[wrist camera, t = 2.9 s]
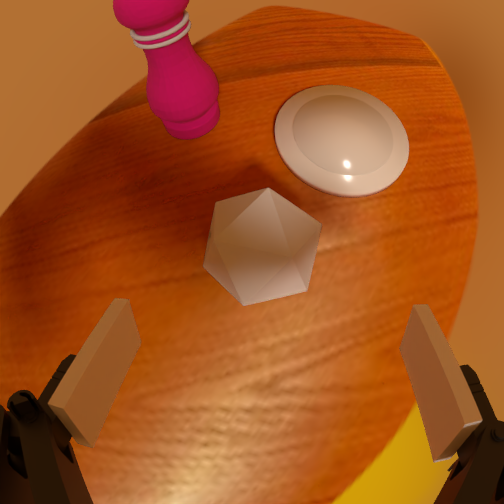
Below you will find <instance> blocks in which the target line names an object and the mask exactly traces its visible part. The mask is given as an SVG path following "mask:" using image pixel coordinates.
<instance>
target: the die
mask: <svg viewBox="0 0 504 504" xmlns="http://www.w3.org/2000/svg"><path fill="white" fill-rule="evenodd" d="M321 228H322V224H321V223H320V222H318V221H317V220H316V219H314V218H313V217H311V216H310V215H308V214H307V213H305V212H304V211H303V210H301V209H300V208H298V207H297V206H295V205H294V204H292V203H291V202H289V201H288V200H287V199H285V198H284V197H282V196H281V195H279V194H278V193H276V192H275V191H273V190H272V189H270V188H269V187H268V188H265V189H261V190H257V191H253V192H250V193H246V194H243V195H239V196H235V197H232V198H228V199H225V200H221V201H218V202H216V203H215V207H214V212H213V217H212V222H211V227H210V232H209V237H208V242H207V247H206V252H205V257H204V263H203V267H204V268H205V269H206V270H207V271H208V272H209V273H210V274H211V275H212V276H213V277H214V278H215V279H216V280H217V281H218V282H219V283H220V284H221V285H222V286H223V287H224V288H225V289H226V290H227V291H228V292H230V293H231V294H232V295H233V296H234V297H235V298H236V299H237V300H238V301H239V302H240V303H241V304H242V305H243V306H245V305H250V304H254V303H259V302H263V301H267V300H272V299H276V298H280V297H284V296H289V295H293V294H297V293H301V292H305V291H307V290H308V285H309V281H310V277H311V273H312V268H313V264H314V260H315V255H316V251H317V246H318V242H319V237H320V232H321Z"/></svg>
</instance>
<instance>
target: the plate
mask: <svg viewBox="0 0 504 504" xmlns="http://www.w3.org/2000/svg"><path fill="white" fill-rule="evenodd" d="M275 142H276V147H277V150H278V153H279V155H280V157H281V159H282V160H283V162H284V164H285V165H286V166H287V168H288V169H289V170H290V171H291V172H292V173H293V174H294V175H295V176H296V177H297V178H299V179H300V180H301V181H303V182H304V183H305V184H307V185H309V186H311V187H312V188H314V189H317V190H319V191H321V192H324V193H327V194H330V195H334V196H339V197H349V198H354V197H365V196H370V195H373V194H377V193H379V192H381V191H383V190H385V189H386V188H388V187H389V186H391V185H392V184H393V183H394V182H395V181H396V180H397V178H398V177H399V176H400V174H401V173H402V171H403V169H404V167H405V165H406V163H407V160H408V155H409V143H408V137H407V134H406V131H405V129H404V127H403V125H402V123H401V122H400V120H399V119H398V117H397V116H396V115H395V113H394V112H393V111H392V110H391V109H390V108H389V107H388V106H387V105H385V104H384V103H383V102H381V101H380V100H379V99H377V98H375V97H374V96H372V95H370V94H368V93H366V92H363V91H361V90H358V89H355V88H351V87H346V86H340V85H322V86H316V87H312V88H308V89H305V90H303V91H301V92H299V93H297V94H295V95H294V96H292V97H291V98H290V99H289V100H288V101H287V102H286V103H285V104H284V105H283V106H282V108H281V109H280V111H279V113H278V115H277V118H276V122H275Z"/></svg>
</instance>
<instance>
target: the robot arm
mask: <svg viewBox="0 0 504 504" xmlns="http://www.w3.org/2000/svg"><path fill="white" fill-rule="evenodd" d="M140 344H141V339H140V336H139V333H138V330H137V326H136V323H135V320H134V316H133V313H132V309H131V306H130V302H129V299H120V298H115V299H114V300H113V302H112V303H111V304H110V306H109V307H108V309H107V310H106V312H105V313H104V315H103V316H102V318H101V319H100V321H99V322H98V324H97V325H96V327H95V328H94V330H93V331H92V333H91V334H90V336H89V337H88V339H87V340H86V342H85V343H84V345H83V346H82V348H81V350H80V351H79V353H78V354H77V355H72V354H70V355H69V356H68V357H67V358H65V359H64V360H63V361H62V362H61V364H60V365H59V367H58V368H57V371H56V372H55V373H54V374H53V376H52V379H50V381H49V382H48V384H47V386H46V387H45V389H44V391H43V392H42V394H41V395H40V397H39V399H38V400H37V399H36V398H35V396H34V395H33V394H32V393H31V392H30V391H28V390H20V391H17V392H15V393H14V394H13V395H12V396H11V397H10V398H9V400H8V403H7V408H8V409H9V410H10V411H6V410H5V409H4V408H3V406H2V405H0V504H93V501H92V499H91V497H90V494H89V492H88V489H87V487H86V484H85V482H84V479H83V477H82V474H81V471H80V469H79V466H78V463H77V460H76V457H75V454H74V451H73V448H72V446H71V444H70V442H69V441H70V439H71V437H73V438H74V439H75V441H76V442H77V443H78V444H81V445H84V446H88V447H91V448H93V447H94V445H95V442H96V440H97V438H98V435H99V433H100V431H101V428H102V426H103V424H104V422H105V419H106V417H107V415H108V413H109V410H110V408H111V406H112V404H113V401H114V399H115V397H116V395H117V393H118V391H119V388H120V386H121V384H122V382H123V380H124V378H125V375H126V373H127V371H128V369H129V367H130V365H131V363H132V361H133V359H134V357H135V354H136V352H137V350H138V348H139V346H140ZM399 349H400V352H401V355H402V357H403V360H404V363H405V366H406V369H407V372H408V375H409V378H410V381H411V384H412V387H413V391H414V394H415V397H416V400H417V403H418V407H419V410H420V413H421V417H422V420H423V424H424V427H425V430H426V435H427V438H428V442H429V446H430V449H431V454H432V458H433V462H438V461H442V460H447V459H450V458H451V457H452V456H453V455H454V454H455V453H456V452H457V454H458V457H459V458H458V459H457V460H456V461H455V462H454V463H453V464H452V466H451V467H450V468H449V469H448V471H450V470H451V469H452V470H451V472H450V474H449V477H448V478H447V480H446V482H445V484H444V486H443V488H442V490H441V491H440V493H439V495H438V497H437V498H436V500H435V502H434V504H504V422H502V421H498V420H497V418H496V416H495V414H494V411H493V409H492V407H491V405H490V403H489V400H488V398H487V396H486V393H485V392H484V389H483V387H482V385H481V384H480V381H479V378H478V376H477V374H476V372H475V371H474V370H473V369H472V368H471V367H469V365H462V366H459V364H458V362H457V360H456V358H455V356H454V354H453V352H452V350H451V348H450V346H449V344H448V342H447V340H446V338H445V336H444V334H443V332H442V330H441V328H440V326H439V324H438V323H437V321H436V319H435V317H434V315H433V313H432V311H431V310H430V308H429V306H428V304H421V305H413V308H412V311H411V314H410V318H409V321H408V324H407V327H406V330H405V333H404V337H403V340H402V343H401V345H400V348H399Z"/></svg>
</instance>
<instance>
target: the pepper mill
mask: <svg viewBox="0 0 504 504" xmlns="http://www.w3.org/2000/svg"><path fill="white" fill-rule="evenodd" d="M188 3H189V0H113V9H114V13H115V16H116V18H117V20H118V21H119V22H120V23H121V24H122V25H123V26H125V27H127V28H130V29H131V31H130V35H131V37H132V38H133V41H134V44H135V45H136V46H137V47H139V48H141V49H143V51H144V52H145V55H146V58H147V61H148V77H147V87H146V90H147V99H148V102H149V105H150V108H151V110H152V111H153V113H154V114H155V115H156V116H158V117H159V118H161V119H162V122H163V124H164V126H165V128H166V130H167V132H168V133H169V134H170V135H172V136H173V137H176V138H179V139H194V138H197V137H201V136H202V135H204V134H206V133H208V132H209V131H210V130H211V129H213V127H214V126H215V125H216V124H217V122H218V120H219V117H220V110H219V106H218V102H217V97H218V93H219V85H218V81H217V78H216V76H215V73H214V72H213V71H212V69H211V68H210V66H209V65H208V64H207V63H206V62H205V61H203V60H202V59H201V58H200V57H199V56H198V55H197V54H196V52H195V51H194V49H193V47H192V45H191V42H190V40H189V36H188V31H189V30H190V28H191V22H190V20H189V14H188V12H187V11H186V10H185V8H186V7H187V5H188Z"/></svg>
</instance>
